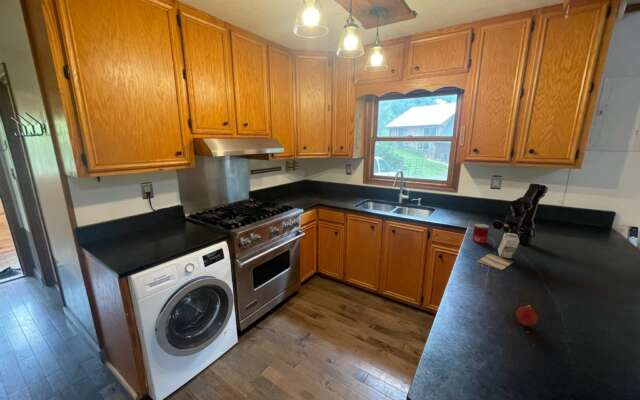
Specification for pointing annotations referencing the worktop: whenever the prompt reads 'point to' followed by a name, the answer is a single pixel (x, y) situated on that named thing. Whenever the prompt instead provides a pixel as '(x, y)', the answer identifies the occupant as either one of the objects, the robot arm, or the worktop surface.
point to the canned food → (480, 233)
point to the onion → (526, 315)
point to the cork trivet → (495, 261)
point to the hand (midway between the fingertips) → (506, 240)
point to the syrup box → (508, 245)
